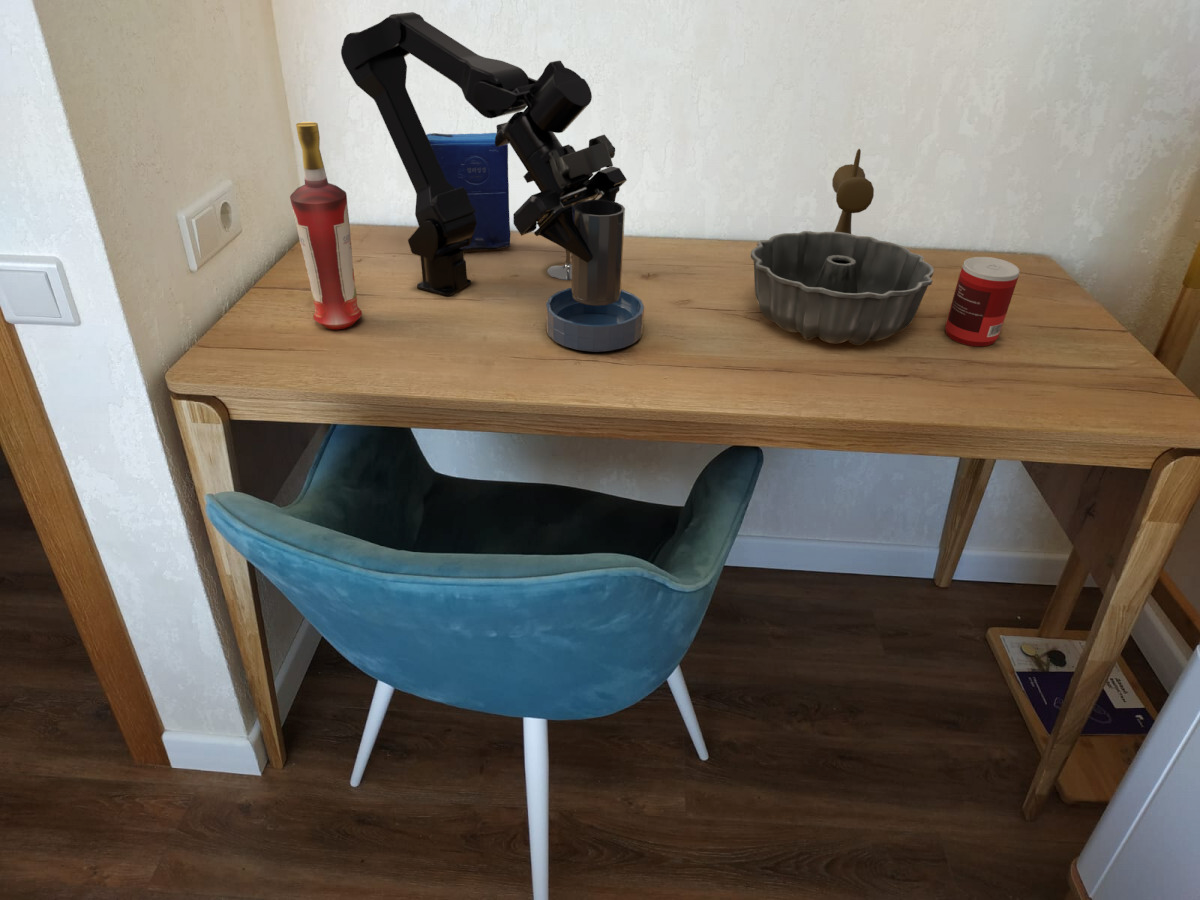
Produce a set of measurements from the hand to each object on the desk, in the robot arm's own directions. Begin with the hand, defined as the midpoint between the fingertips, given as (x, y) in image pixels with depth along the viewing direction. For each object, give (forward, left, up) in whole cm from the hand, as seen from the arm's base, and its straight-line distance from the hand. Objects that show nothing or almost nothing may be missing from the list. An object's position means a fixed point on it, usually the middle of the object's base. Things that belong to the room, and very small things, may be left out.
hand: (605, 252), depth 112 cm
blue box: (-37, +20, -14) cm, 45 cm away
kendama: (+22, +48, -14) cm, 55 cm away
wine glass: (-17, +20, -14) cm, 30 cm away
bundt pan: (+27, +24, -14) cm, 39 cm away
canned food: (+47, +30, -14) cm, 57 cm away
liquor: (-36, -15, -14) cm, 42 cm away
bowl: (-2, +2, -13) cm, 14 cm away
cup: (-1, 0, -7) cm, 7 cm away
